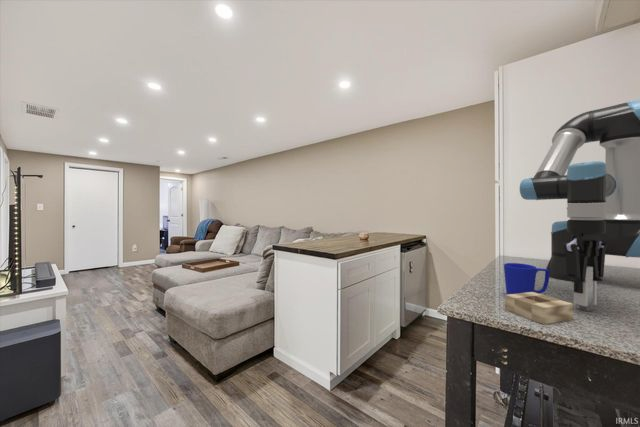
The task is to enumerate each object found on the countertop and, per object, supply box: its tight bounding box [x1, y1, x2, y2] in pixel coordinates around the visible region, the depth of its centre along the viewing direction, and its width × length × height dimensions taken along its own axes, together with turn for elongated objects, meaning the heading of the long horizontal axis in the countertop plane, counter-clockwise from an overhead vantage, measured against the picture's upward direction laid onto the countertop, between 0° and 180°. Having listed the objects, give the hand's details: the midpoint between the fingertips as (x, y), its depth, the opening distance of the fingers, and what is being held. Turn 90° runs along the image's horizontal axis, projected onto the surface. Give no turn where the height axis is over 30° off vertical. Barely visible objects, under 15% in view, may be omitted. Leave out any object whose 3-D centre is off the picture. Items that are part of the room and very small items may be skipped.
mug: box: [503, 262, 550, 295], centre depth 82 cm, size 8×12×10 cm
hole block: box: [504, 292, 575, 325], centre depth 69 cm, size 10×10×4 cm
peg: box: [576, 265, 594, 312], centre depth 72 cm, size 3×3×12 cm
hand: (585, 303), depth 72 cm, fingers closed on peg, 3 cm apart
